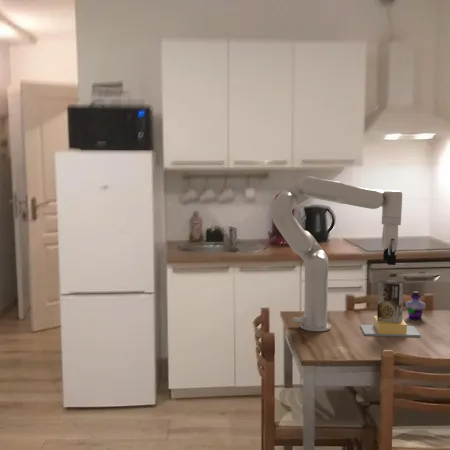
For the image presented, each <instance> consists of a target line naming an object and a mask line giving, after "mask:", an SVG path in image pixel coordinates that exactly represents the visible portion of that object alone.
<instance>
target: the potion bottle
mask: <svg viewBox="0 0 450 450" xmlns="http://www.w3.org/2000/svg"><path fill="white" fill-rule="evenodd" d="M410 298H411V300H408V301H405V307H406V310H407V314H408V319H409V320H413V321H414V320H415V321H418V320H419V321H420V320H421V319H422V317H423V313H424V311H425V309H426V305H427V304H426V303H425V302H424V301H421V300H420V299H421V298H422V295H421V294H420V291H412V292H411V293H410Z"/></svg>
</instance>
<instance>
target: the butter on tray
mask: <svg viewBox="0 0 450 450" xmlns="http://www.w3.org/2000/svg"><path fill="white" fill-rule="evenodd" d="M359 327H360V329H361V331H362V333H363V336H366V337H368V336H370V337H374V336H375V337H408V338H411V337H413V338H421V334H420V333H419V331H418V330H417V328H416V327H415V325H408V324H407V323H406V322H405V321H404V319H403V318H402V321H401V322H399V323H395V322H387V321H378V320H377V315H373V324H360V326H359Z"/></svg>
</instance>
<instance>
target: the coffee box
mask: <svg viewBox="0 0 450 450" xmlns="http://www.w3.org/2000/svg"><path fill="white" fill-rule="evenodd" d="M403 300H404V281H401V280H392V279H381V280H379V281H377V309H376V310H377V311H376V313H377V315H376V316H377V320H378V321H387V322H395V323H399V322H401V321H402V319H403V311H404V310H403V305H404V301H403Z"/></svg>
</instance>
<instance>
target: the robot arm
mask: <svg viewBox="0 0 450 450" xmlns="http://www.w3.org/2000/svg"><path fill="white" fill-rule="evenodd" d="M310 199H316V200H320V201H321V200H322V201H327V202H333V203H336V204H337V203H338V204H342V205H349V206H353V207H359V208H365V209H370V210H371V209H372V210H377V209H379V208H382V209H381V225H382V226H383V227H382V235H381V244H380V245H381V247H382V248H383V252H382V253H383V254H382V255H383V257H382V260H383V261H384V262H385V261H387V263H386V264H387V265H388V266H395V265H397V264H396V263H397V262H396V261H397V249H398V245H399V244H398V243H399V226H401V225H402V212H403V211H402V210H403V209H402V208H403V192H402V191H400V190H397V189H395V190H394V189H386V190H383V189H376V188H370V189H369V188H364V187H357V186H354V185H351V184H347V183H345V182H342V181H338V180H337V181H336V180H330V179H324V178H319V177H315V176H312V175H309V176H308V175H307V176H304V178H302V179H301V180H299V181H298V182H296V183H295V184H293V185H292V186H290V187H289V188H287V189H285V190H283V191H281V192H280V193H279V194H278V195H277V196H276V198H275V199H274V200H273V203H272V206H271V212H270V213H271V219H272V221H273V224H274V225H275V227H276V229H277V230H278V231H279V233H280V235H282V237H283V239H284V241H286V243H287V244H288V246H289V247H290V248H291V250H292V252H294V253H295V254H297V255H299V257H300V258H301V259H302V261H304V304H303V305H304V309H303V310H304V311H303V312H304V313H303V315H302V316H300V317H297V316H296V317H294V316H293V319H292V320H293V322H294V323H296V324H300V328H301V329H302V330H304V331H309V332H326V331H328V330H329V331H330V330H331V329H332V328H331V326H332V325H331V324H330V323H328V295H329V293H328V291H329V287H328V286H329V258H328V255H327V254H326V252H325V251H324V249H323V248H322V246H321V245H320V244H319V242H318V241H317V240H316V239H315V237H314V236H313V234H311V233H310V232H309V231H308V230H304V229H303V227H302V226H301V224H300V223H299V222H298V220H297V219H296V218H295V216H294V215H293V210H294V209H295V208H296V207H298V206H299V205H301V204H303V203H305V202H306V201H308V200H310Z"/></svg>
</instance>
